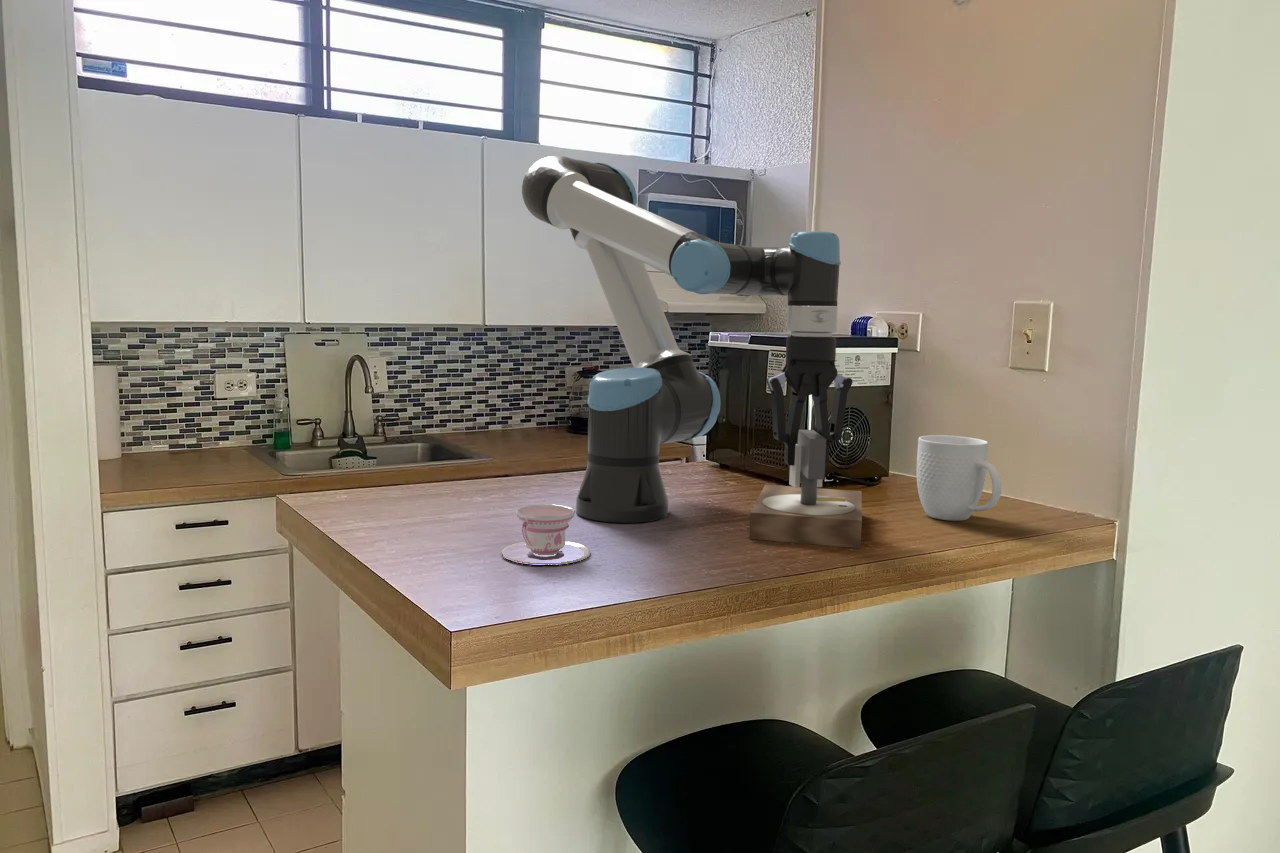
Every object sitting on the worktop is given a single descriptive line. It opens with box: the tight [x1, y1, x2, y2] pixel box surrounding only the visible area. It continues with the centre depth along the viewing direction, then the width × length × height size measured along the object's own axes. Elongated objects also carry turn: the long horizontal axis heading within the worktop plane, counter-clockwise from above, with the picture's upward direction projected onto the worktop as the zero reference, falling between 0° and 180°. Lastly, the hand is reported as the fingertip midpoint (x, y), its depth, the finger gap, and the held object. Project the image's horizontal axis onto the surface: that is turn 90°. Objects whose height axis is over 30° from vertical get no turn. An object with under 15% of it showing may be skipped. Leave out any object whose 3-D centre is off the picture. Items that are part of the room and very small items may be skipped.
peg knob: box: [797, 429, 846, 505], centre depth 138 cm, size 7×10×11 cm
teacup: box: [501, 503, 591, 566], centre depth 122 cm, size 12×12×6 cm
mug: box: [915, 434, 1002, 522], centre depth 149 cm, size 15×11×13 cm
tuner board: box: [748, 484, 863, 549], centre depth 142 cm, size 16×22×4 cm
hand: (805, 485), depth 142 cm, fingers open, 3 cm apart
